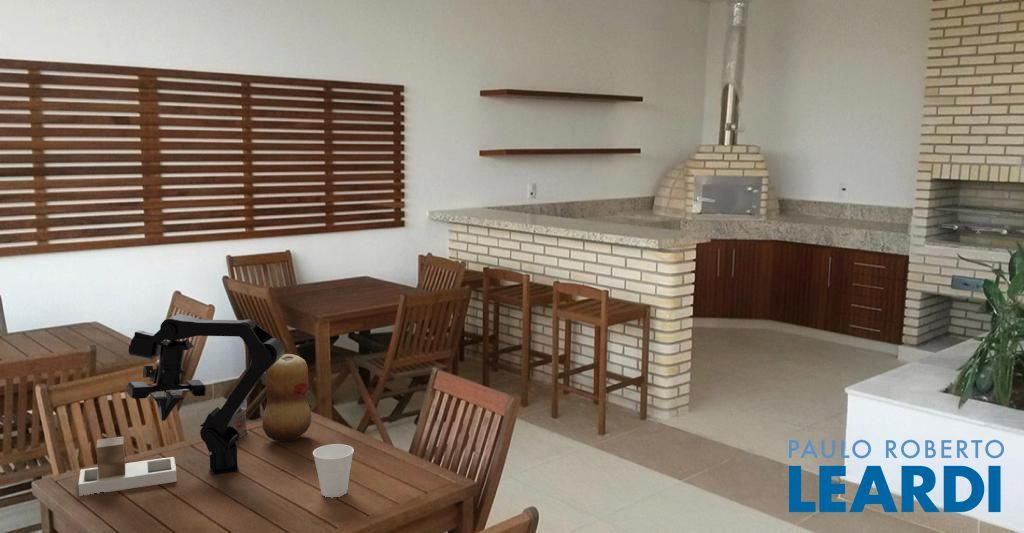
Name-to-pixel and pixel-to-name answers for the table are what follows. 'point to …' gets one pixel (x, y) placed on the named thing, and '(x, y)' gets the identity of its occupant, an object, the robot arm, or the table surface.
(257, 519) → the table surface
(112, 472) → the walnut block
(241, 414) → the lighter
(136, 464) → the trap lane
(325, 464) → the cup
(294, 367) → the butternut squash
